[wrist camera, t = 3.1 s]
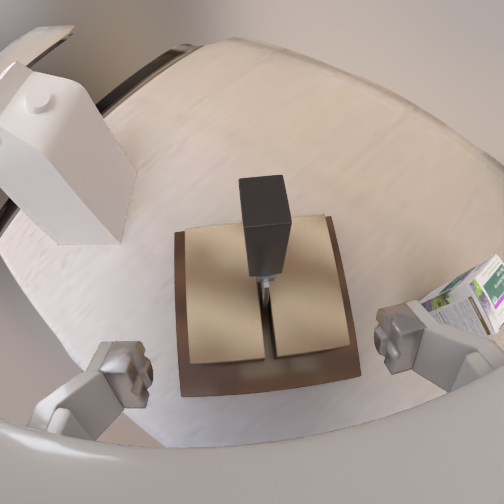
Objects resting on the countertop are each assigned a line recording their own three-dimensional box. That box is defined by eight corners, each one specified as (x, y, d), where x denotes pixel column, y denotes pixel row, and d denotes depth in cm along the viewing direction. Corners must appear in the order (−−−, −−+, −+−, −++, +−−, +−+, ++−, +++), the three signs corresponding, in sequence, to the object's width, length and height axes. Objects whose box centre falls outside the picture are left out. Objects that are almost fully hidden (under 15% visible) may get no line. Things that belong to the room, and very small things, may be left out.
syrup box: (428, 291, 33) (496, 248, 20) (449, 327, 31) (524, 299, 18) (398, 316, 33) (467, 280, 19) (421, 353, 30) (497, 336, 17)
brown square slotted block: (358, 375, 30) (386, 375, 23) (183, 396, 30) (160, 402, 22) (329, 219, 38) (343, 184, 30) (176, 235, 38) (157, 203, 30)
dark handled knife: (277, 307, 27) (294, 235, 13) (253, 309, 27) (244, 240, 13) (272, 266, 28) (281, 164, 14) (248, 268, 28) (237, 168, 14)
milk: (78, 179, 42) (-3, 65, 18) (137, 172, 42) (65, 29, 18) (58, 245, 38) (-58, 139, 14) (120, 244, 37) (1, 103, 13)
